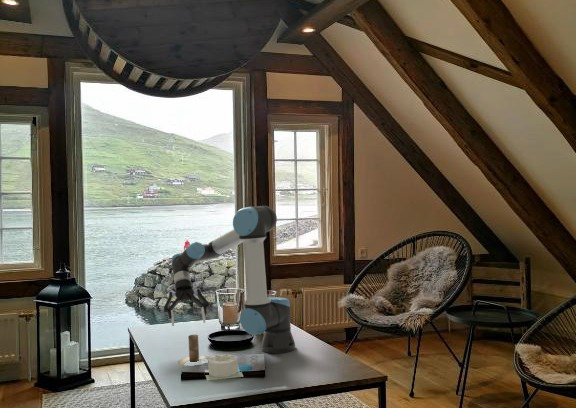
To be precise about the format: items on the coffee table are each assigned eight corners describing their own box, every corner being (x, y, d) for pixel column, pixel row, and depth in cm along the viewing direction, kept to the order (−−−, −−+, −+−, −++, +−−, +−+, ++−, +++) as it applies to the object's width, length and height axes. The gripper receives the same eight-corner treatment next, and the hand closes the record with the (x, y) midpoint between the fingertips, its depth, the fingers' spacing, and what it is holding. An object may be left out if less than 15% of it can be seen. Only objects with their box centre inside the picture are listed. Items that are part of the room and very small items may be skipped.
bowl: (235, 366, 231) (234, 353, 231) (239, 375, 220) (238, 361, 220) (207, 369, 228) (207, 356, 228) (210, 378, 217) (209, 364, 217)
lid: (209, 356, 249) (208, 330, 248) (212, 366, 235) (211, 338, 235) (176, 359, 246) (175, 333, 245) (178, 369, 232) (176, 341, 232)
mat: (238, 366, 233) (238, 365, 233) (243, 377, 219) (243, 376, 219) (203, 370, 229) (203, 369, 229) (207, 382, 216) (206, 380, 216)
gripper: (209, 285, 270) (216, 324, 256) (155, 290, 262) (159, 330, 248) (210, 276, 265) (218, 314, 251) (155, 280, 257) (160, 321, 243)
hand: (189, 322), depth 250 cm, fingers open, 13 cm apart
